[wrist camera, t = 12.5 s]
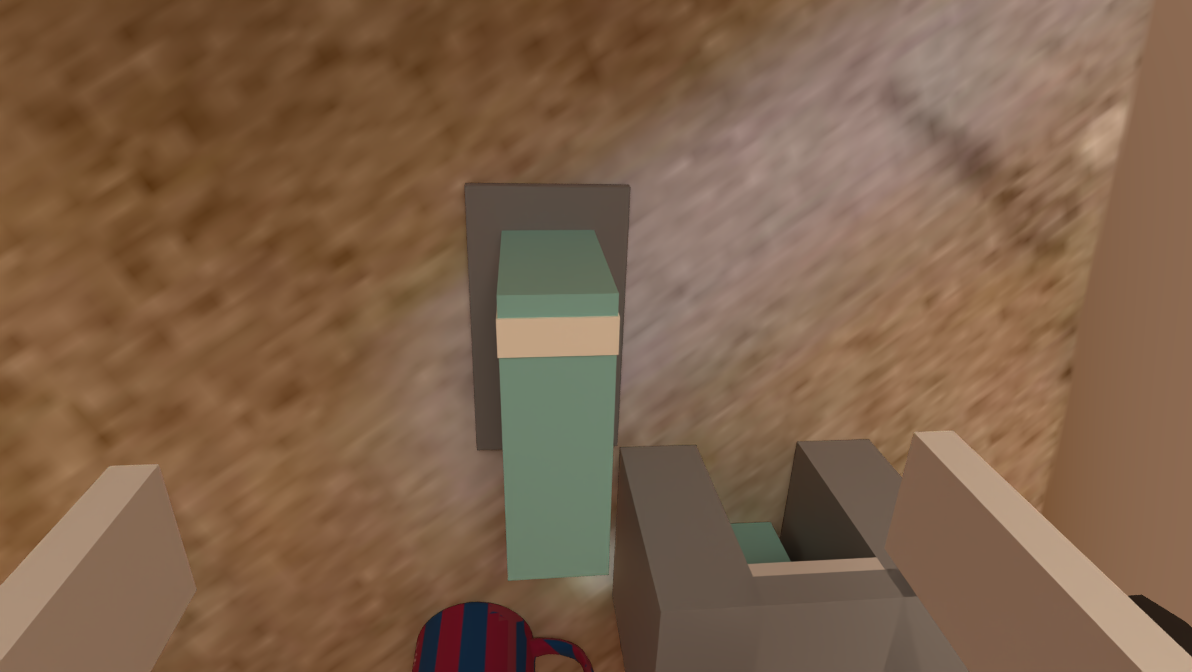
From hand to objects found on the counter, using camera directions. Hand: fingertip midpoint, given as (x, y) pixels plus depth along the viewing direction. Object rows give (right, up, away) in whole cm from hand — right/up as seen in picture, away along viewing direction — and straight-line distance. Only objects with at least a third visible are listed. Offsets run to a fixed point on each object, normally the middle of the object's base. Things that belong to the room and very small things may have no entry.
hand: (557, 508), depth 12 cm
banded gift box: (-2, +2, +20) cm, 20 cm away
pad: (-2, +4, +20) cm, 20 cm away
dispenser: (+8, -7, +26) cm, 28 cm away
